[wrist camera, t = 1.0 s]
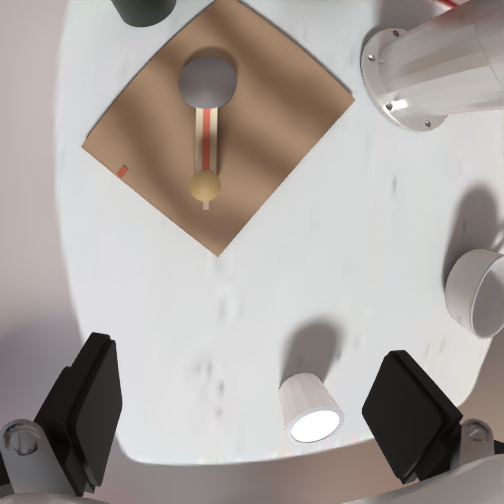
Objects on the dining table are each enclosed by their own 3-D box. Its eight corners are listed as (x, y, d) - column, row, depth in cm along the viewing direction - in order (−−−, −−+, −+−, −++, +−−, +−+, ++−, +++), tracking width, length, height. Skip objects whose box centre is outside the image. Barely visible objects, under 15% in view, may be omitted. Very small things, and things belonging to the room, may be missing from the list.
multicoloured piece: (181, 61, 23) (177, 45, 19) (236, 60, 24) (240, 45, 20) (177, 197, 27) (172, 202, 23) (234, 196, 27) (238, 200, 23)
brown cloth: (224, -2, 23) (225, -7, 22) (351, 101, 27) (356, 99, 26) (85, 147, 25) (80, 146, 24) (217, 254, 30) (218, 257, 29)
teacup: (424, 313, 36) (460, 342, 28) (447, 234, 33) (491, 251, 25) (481, 314, 38) (513, 335, 30) (501, 248, 35) (538, 263, 28)
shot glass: (270, 410, 36) (281, 449, 30) (277, 369, 35) (290, 409, 28) (319, 406, 37) (336, 442, 31) (330, 366, 36) (352, 402, 29)
